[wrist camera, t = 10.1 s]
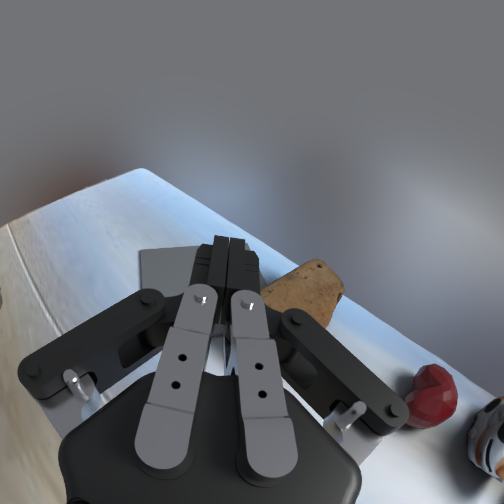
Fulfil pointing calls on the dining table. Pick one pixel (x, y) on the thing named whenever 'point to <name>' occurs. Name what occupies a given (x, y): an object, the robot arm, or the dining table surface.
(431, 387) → the heart
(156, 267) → the mat
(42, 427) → the dining table surface
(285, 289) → the block
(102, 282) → the dining table surface
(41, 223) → the dining table surface
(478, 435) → the lucky cat figurine
